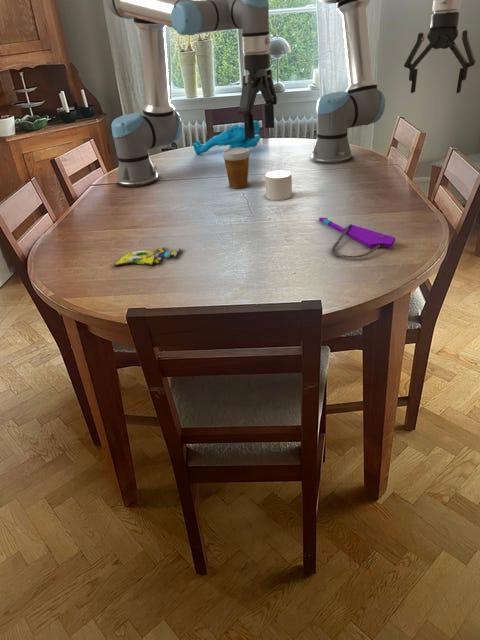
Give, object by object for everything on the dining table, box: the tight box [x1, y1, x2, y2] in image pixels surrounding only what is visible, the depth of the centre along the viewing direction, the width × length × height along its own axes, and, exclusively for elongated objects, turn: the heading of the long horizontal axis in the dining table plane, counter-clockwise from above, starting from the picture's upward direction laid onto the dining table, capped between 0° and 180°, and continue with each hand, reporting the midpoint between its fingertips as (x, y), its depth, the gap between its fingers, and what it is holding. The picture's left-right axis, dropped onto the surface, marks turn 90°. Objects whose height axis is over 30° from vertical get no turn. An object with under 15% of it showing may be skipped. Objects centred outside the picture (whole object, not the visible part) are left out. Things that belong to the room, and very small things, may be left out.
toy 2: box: [114, 247, 181, 267], centre depth 124 cm, size 10×1×15 cm
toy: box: [192, 120, 261, 155], centre depth 208 cm, size 17×11×30 cm
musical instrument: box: [318, 217, 396, 259], centre depth 123 cm, size 24×2×20 cm
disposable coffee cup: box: [222, 148, 251, 189], centre depth 166 cm, size 10×10×12 cm
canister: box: [264, 169, 293, 201], centre depth 156 cm, size 8×8×7 cm
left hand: (260, 132), depth 146 cm, fingers open, 13 cm apart
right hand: (435, 92), depth 150 cm, fingers open, 13 cm apart
